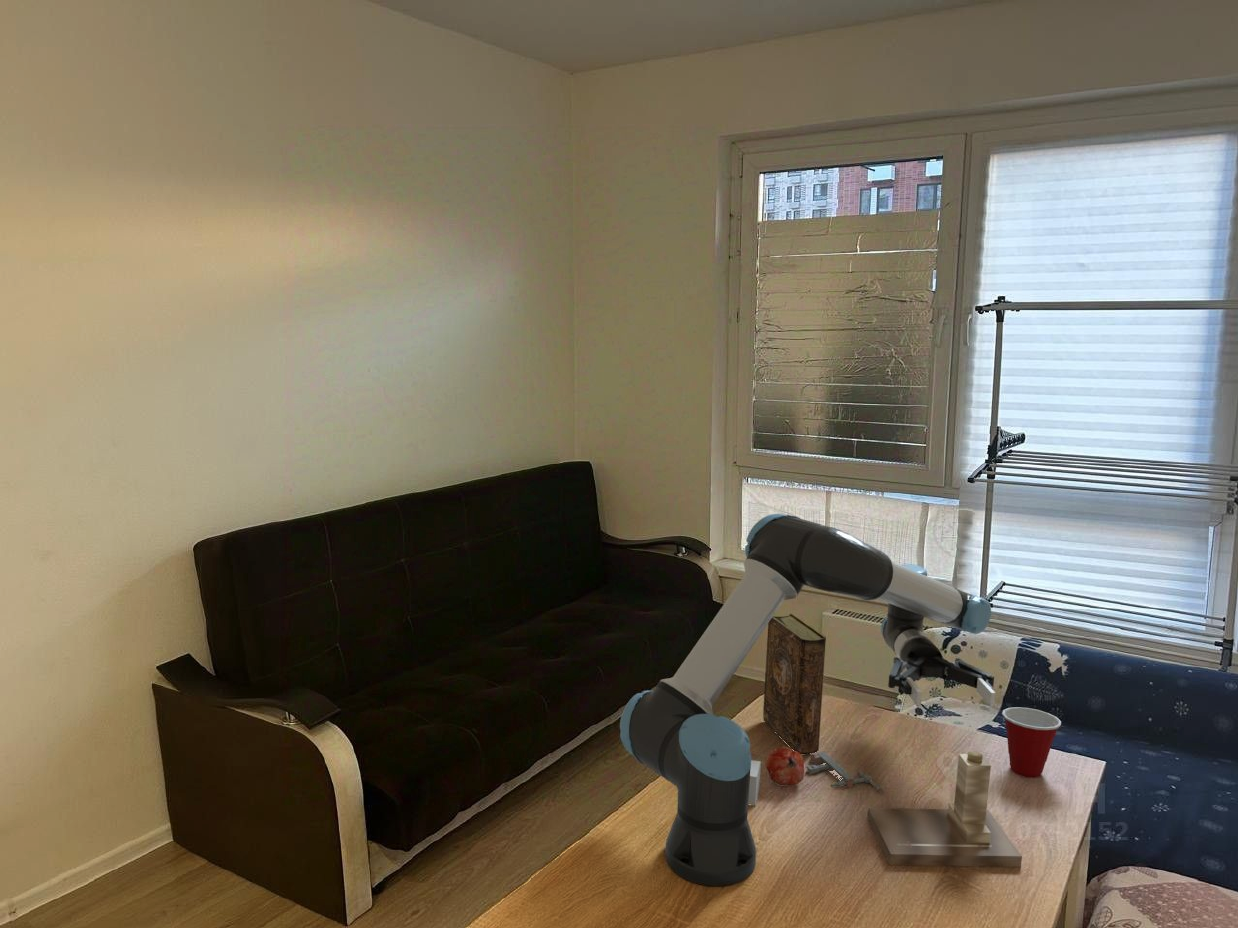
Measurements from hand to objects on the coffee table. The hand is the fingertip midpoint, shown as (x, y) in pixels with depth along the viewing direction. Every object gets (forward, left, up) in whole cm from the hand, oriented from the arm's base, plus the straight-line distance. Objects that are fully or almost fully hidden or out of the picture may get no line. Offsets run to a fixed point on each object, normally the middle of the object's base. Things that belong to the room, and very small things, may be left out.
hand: (956, 699), depth 168 cm
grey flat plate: (-6, -12, -21) cm, 25 cm away
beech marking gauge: (-1, -11, -19) cm, 22 cm away
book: (-25, +26, -21) cm, 41 cm away
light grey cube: (-38, +2, -21) cm, 44 cm away
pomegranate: (-30, +7, -21) cm, 37 cm away
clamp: (-18, +9, -21) cm, 30 cm away
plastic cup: (+20, +13, -21) cm, 32 cm away
